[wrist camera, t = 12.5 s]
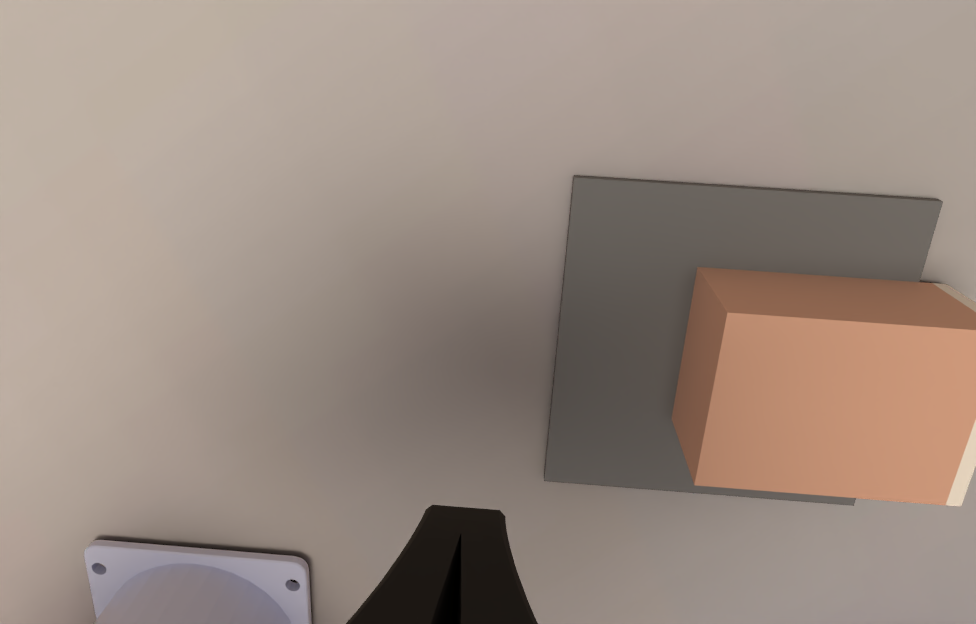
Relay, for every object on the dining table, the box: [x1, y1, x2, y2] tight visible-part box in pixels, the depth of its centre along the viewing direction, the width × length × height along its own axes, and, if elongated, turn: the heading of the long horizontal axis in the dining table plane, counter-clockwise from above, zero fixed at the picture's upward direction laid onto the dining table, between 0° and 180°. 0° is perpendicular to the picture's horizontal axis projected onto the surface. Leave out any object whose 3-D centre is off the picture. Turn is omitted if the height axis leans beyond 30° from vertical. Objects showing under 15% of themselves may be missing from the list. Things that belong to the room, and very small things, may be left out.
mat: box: [544, 175, 943, 506], centre depth 22 cm, size 10×10×1 cm
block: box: [672, 267, 976, 506], centre depth 20 cm, size 5×4×7 cm
